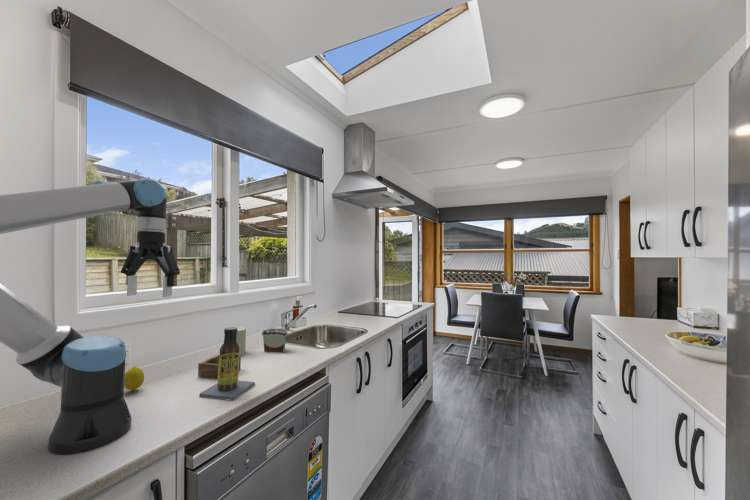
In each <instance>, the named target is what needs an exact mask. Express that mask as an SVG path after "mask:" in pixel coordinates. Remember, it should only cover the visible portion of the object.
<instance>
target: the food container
mask: <svg viewBox="0 0 750 500" xmlns="http://www.w3.org/2000/svg"><path fill="white" fill-rule="evenodd" d="M261 336H262V338H263V351H264V353H271V354H272V353H273V354H284V353H285V349H286V342H287V341H286V340H287V337H288V331H287V329H285V328H270V329H269V328H268V329H264V330H262V333H261Z"/></svg>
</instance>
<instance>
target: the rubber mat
mask: <svg viewBox="0 0 750 500" xmlns="http://www.w3.org/2000/svg"><path fill="white" fill-rule="evenodd" d="M255 382H256V381H248V380H239V379H238V381H237V386H236V387H235V388H234V389H231V390H219V389H218V383H217V382H216V383H215V384H214V385H211V386H209V387H208V388H207V389H205V390H203V391H202V392H200V393H199V395H198V396H199V398H207V399H215V398H216V399H219V400H225V399H229V400H228V401H235V400H236V399H238V396H239V397H240V396H241V395H243V394H244V393H246V392H247V391H248V390H249V389H251V388H252V387H254V386H255V384H256V383H255ZM235 398H236V399H235Z"/></svg>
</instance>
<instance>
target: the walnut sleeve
mask: <svg viewBox="0 0 750 500" xmlns="http://www.w3.org/2000/svg"><path fill="white" fill-rule="evenodd" d="M219 355H220V354H216V355H215V356H212V357H210V358H208V359H205V360H203V361H201V362H199V363H198V366H197V367H198V368H197V369H198V370H197V371H198V372H197V378H203V379H204V378H205V379H214V380H218V366H219ZM241 359H242V357H241V356H239V369H238V372H239V371H240V370H241V362H242V361H241Z"/></svg>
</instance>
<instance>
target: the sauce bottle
mask: <svg viewBox="0 0 750 500" xmlns="http://www.w3.org/2000/svg"><path fill="white" fill-rule="evenodd" d="M237 327H238V326H227V327H224V331H223V333H224V337H223V338H224V339H223V343H222V344H221V346H220V348H219V354H218V355H219V366H218V379H217V382H216V384H217V383H218V389H219V390H231V389H234V388H235V387H236V386H237V381H238V380H239V371H238V369H239V357H240V356H239V345H238V344H237V342H236V340H237V339H236V335H237Z"/></svg>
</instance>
